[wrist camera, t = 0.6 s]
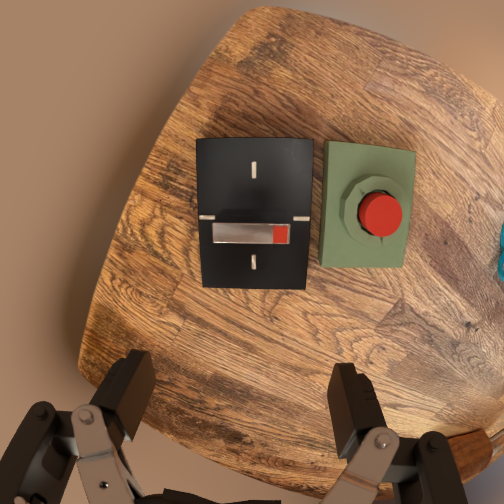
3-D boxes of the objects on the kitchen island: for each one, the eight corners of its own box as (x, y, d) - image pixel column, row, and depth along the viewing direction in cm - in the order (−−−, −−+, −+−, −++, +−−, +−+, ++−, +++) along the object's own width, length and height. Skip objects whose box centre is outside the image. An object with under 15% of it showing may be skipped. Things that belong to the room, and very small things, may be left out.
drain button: (360, 190, 23) (367, 193, 21) (396, 193, 23) (404, 197, 21) (356, 230, 24) (362, 236, 22) (391, 232, 24) (399, 237, 22)
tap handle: (222, 225, 25) (212, 244, 20) (222, 208, 25) (211, 223, 20) (285, 226, 25) (289, 245, 20) (285, 209, 24) (290, 224, 19)
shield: (526, 417, 40) (517, 441, 47) (522, 411, 43) (514, 436, 50) (452, 471, 48) (457, 483, 55) (450, 464, 51) (455, 478, 58)
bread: (411, 441, 42) (427, 489, 30) (488, 424, 43) (505, 456, 30) (384, 467, 46) (394, 510, 34) (463, 449, 47) (476, 481, 34)
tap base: (203, 140, 25) (195, 138, 22) (308, 140, 25) (313, 138, 22) (208, 274, 30) (202, 288, 27) (302, 276, 30) (305, 290, 27)
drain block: (323, 141, 25) (333, 139, 21) (406, 151, 24) (425, 152, 21) (317, 259, 29) (324, 275, 25) (394, 260, 29) (409, 275, 25)
